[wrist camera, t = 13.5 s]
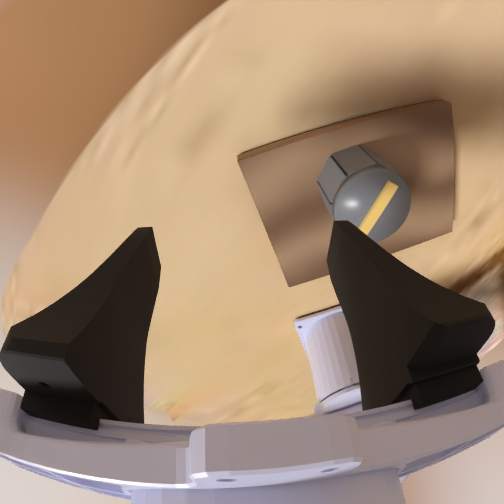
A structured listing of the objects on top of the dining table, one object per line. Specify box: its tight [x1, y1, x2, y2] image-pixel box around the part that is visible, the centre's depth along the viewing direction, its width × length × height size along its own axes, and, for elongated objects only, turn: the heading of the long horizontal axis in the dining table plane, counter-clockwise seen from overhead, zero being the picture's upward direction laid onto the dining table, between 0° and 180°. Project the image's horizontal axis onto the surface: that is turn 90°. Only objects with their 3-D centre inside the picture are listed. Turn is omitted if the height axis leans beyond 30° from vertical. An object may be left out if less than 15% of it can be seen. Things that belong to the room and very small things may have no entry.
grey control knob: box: [317, 145, 411, 242], centre depth 19 cm, size 5×5×4 cm
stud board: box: [237, 99, 455, 287], centre depth 21 cm, size 12×16×4 cm
